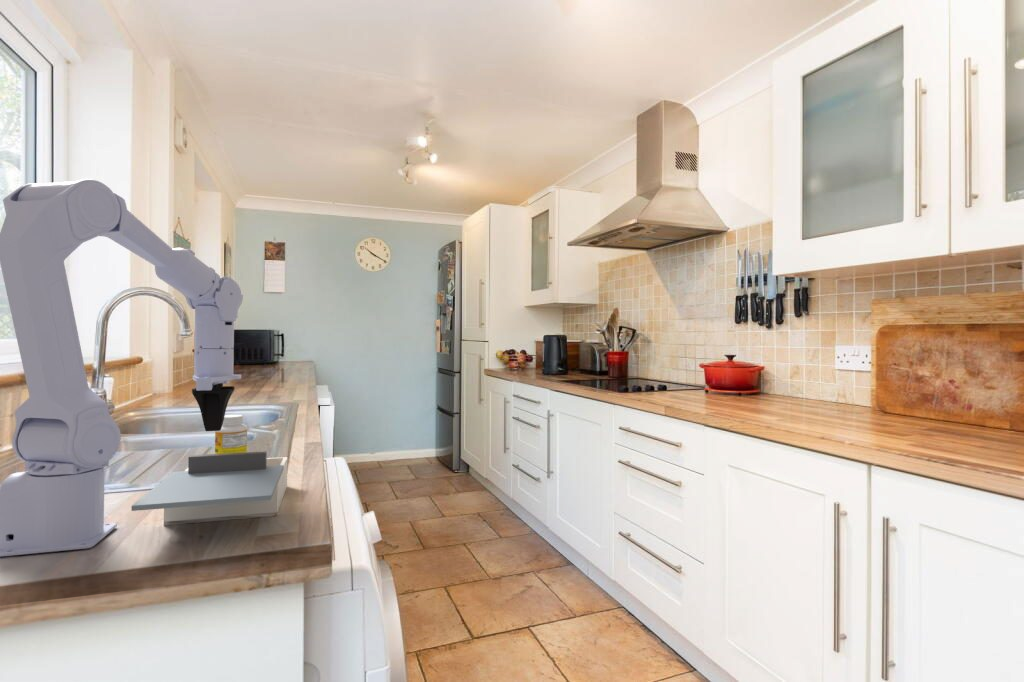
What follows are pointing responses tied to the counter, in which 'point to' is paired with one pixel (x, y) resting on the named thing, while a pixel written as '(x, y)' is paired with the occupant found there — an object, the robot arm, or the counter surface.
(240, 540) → the counter surface
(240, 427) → the supplement bottle
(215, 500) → the lid
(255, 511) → the box
